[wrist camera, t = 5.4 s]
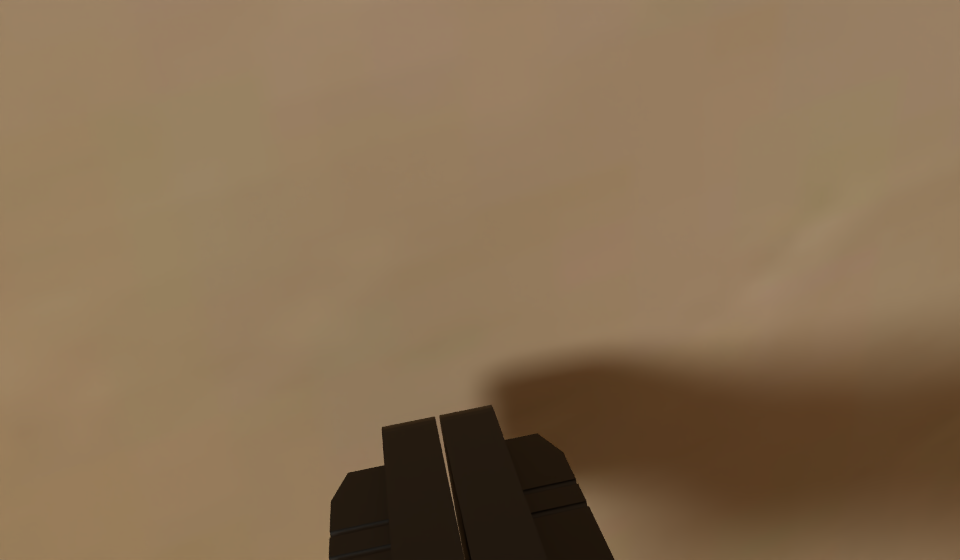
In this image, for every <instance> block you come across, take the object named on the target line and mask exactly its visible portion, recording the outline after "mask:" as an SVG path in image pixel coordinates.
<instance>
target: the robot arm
mask: <svg viewBox="0 0 960 560" xmlns="http://www.w3.org/2000/svg"><path fill="white" fill-rule="evenodd" d="M439 417H440V424H441V430H442V436H443V442H444V447H445V453H446V459H447V465H448V471H449V476H450V482H451V488H452V494H453V500H454V505H455V511H456V516H455V511H454V506H453V501H452V497H451V492H450V487H449V482H448V477H447V473H446V468H445V463H444V458H443V453H442V449H441V444H440V439H439V434H438V429H437V425H436V420H435V417H430V418H425V419H420V420H415V421H410V422H405V423H400V424H395V425H390V426H385V427H382V439H383V452H384V466H379V467H374V468H369V469H364V470H359V471H355V472H350V473H348V474H347V475H346V477H345V479H344V480H343V482H342V484H341V485H340V487H339V489H338V491H337V492H336V494H335V496H334V497H333V499H332V501H331V514H330V536H331V538H330V541H329V560H614V558H613V556H612V553H611V551H610V549H609V547H608V545H607V543H606V541H605V539H604V537H603V535H602V533H601V531H600V528H599V526H598V524H597V522H596V520H595V518H594V516H593V514H592V512H591V510H590V508H589V507H588V506H587V503H586V499H585V497H584V495H583V493H582V491H581V489H580V487H579V485H578V484H577V483H576V478H575V476H574V474H573V472H572V470H571V468H570V466H569V464H568V462H567V460H566V458H565V455H564V453H563V452H562V451H560V450H559V449H558V448H556V447H555V446H554V445H552V444H551V443H550V442H548V441H547V440H545V439H544V438H543V437H541V436H540V435H539V434H533V435H528V436H523V437H518V438H513V439H508V440H504V437H503V434H502V431H501V429H500V426H499V423H498V420H497V418H496V415H495V412H494V409H493V407H492V405H488V406H483V407H478V408H473V409H469V410H464V411H459V412H454V413H449V414H444V415H439ZM456 517H457V521H456ZM457 522H458V525H457ZM458 528H459V530H458ZM459 533H460V535H459ZM460 538H461V540H460ZM461 543H462V545H461ZM462 548H463V549H462ZM463 553H464V554H463ZM464 558H465V559H464Z"/></svg>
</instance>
